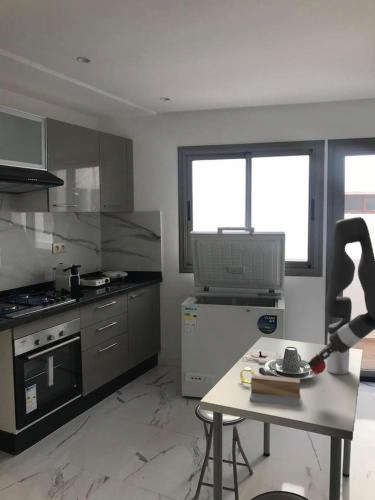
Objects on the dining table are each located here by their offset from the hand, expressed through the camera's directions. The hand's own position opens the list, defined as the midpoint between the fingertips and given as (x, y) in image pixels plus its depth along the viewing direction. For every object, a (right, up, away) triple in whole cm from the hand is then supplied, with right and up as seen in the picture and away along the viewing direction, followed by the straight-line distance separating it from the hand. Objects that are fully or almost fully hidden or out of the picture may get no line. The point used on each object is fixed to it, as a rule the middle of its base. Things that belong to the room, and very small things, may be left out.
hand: (312, 362), depth 163 cm
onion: (+2, -5, 0) cm, 5 cm away
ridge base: (-14, -13, +1) cm, 19 cm away
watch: (-23, -12, +15) cm, 30 cm away
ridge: (-14, -12, +1) cm, 19 cm away
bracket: (-13, -12, +20) cm, 27 cm away
